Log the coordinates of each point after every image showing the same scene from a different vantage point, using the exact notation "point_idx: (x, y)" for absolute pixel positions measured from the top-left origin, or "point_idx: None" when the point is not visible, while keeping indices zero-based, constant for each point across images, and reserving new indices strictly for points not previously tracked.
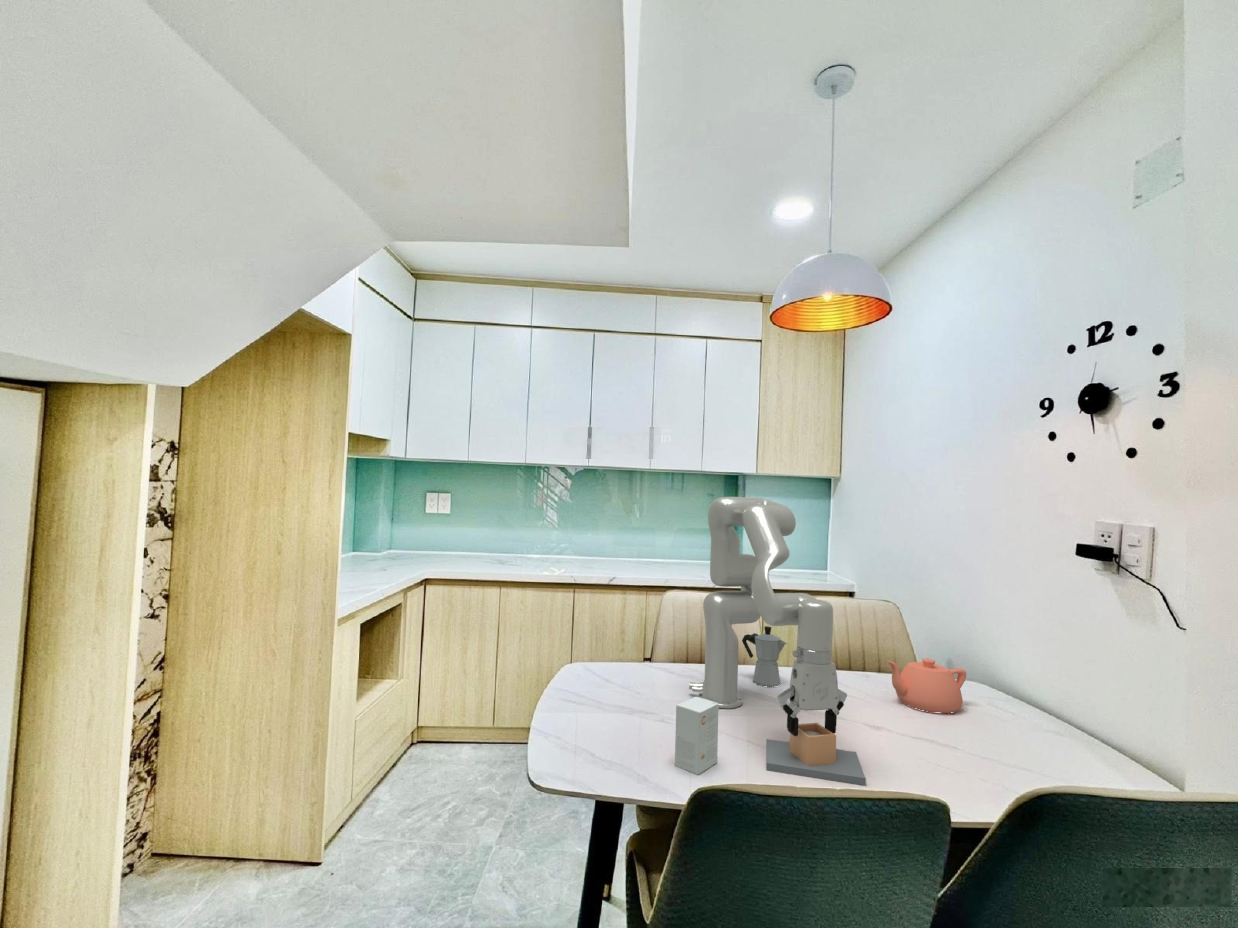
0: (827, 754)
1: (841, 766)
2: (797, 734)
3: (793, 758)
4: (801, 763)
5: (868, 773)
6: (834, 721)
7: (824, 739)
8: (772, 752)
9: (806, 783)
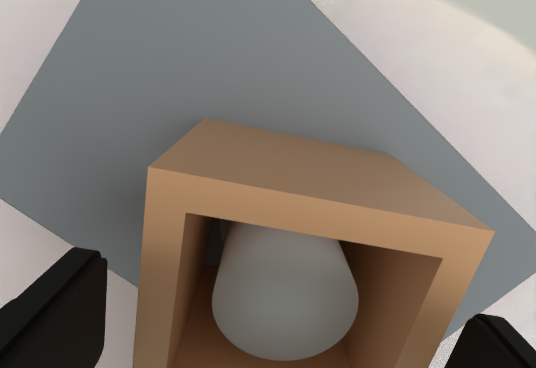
0: (261, 142)
1: (203, 69)
2: (492, 320)
3: None
4: None
5: (44, 9)
6: (9, 334)
7: (295, 183)
8: None
9: (480, 61)
